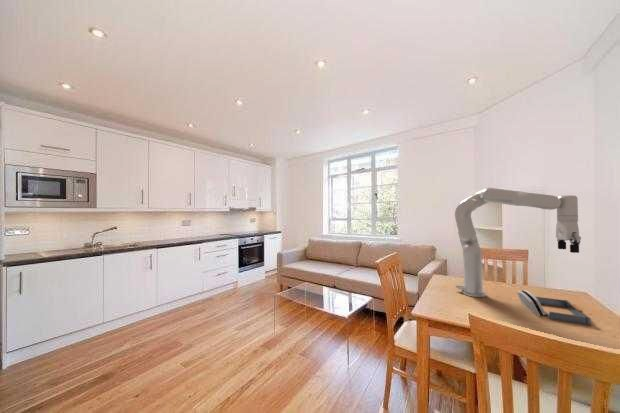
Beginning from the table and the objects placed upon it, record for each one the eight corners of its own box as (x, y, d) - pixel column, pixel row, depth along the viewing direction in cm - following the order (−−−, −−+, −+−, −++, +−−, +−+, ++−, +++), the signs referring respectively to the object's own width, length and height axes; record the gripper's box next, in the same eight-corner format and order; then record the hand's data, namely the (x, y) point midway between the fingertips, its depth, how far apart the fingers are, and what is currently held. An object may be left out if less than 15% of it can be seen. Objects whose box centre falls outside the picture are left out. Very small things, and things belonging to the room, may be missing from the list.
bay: (550, 319, 110) (550, 311, 110) (534, 302, 130) (534, 295, 130) (591, 326, 104) (591, 317, 104) (567, 306, 123) (567, 299, 123)
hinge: (550, 317, 113) (540, 297, 114) (538, 319, 115) (529, 299, 116) (532, 303, 129) (524, 286, 130) (522, 305, 130) (514, 288, 132)
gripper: (548, 217, 133) (549, 247, 133) (569, 219, 116) (569, 253, 116) (565, 217, 130) (566, 248, 130) (589, 219, 114) (590, 254, 114)
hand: (568, 250), depth 123 cm, fingers open, 9 cm apart
